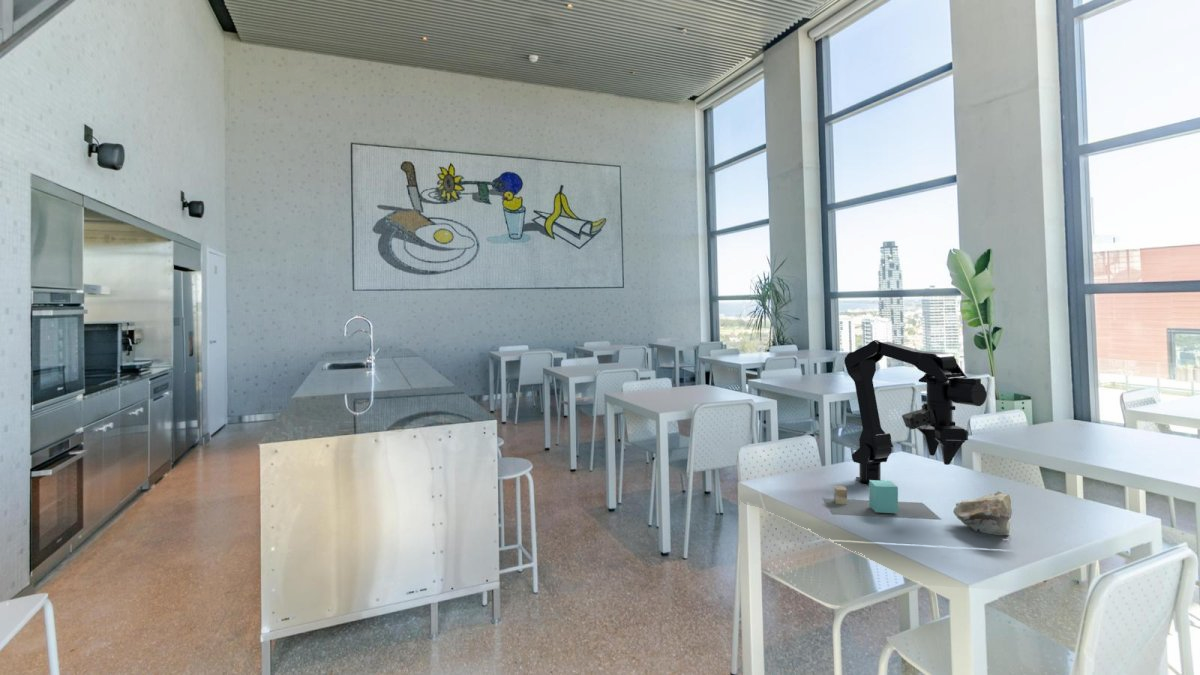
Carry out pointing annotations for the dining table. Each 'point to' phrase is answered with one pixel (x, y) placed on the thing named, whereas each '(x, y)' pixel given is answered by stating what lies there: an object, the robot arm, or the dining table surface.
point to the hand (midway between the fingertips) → (939, 459)
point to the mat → (865, 510)
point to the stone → (986, 513)
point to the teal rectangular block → (883, 496)
